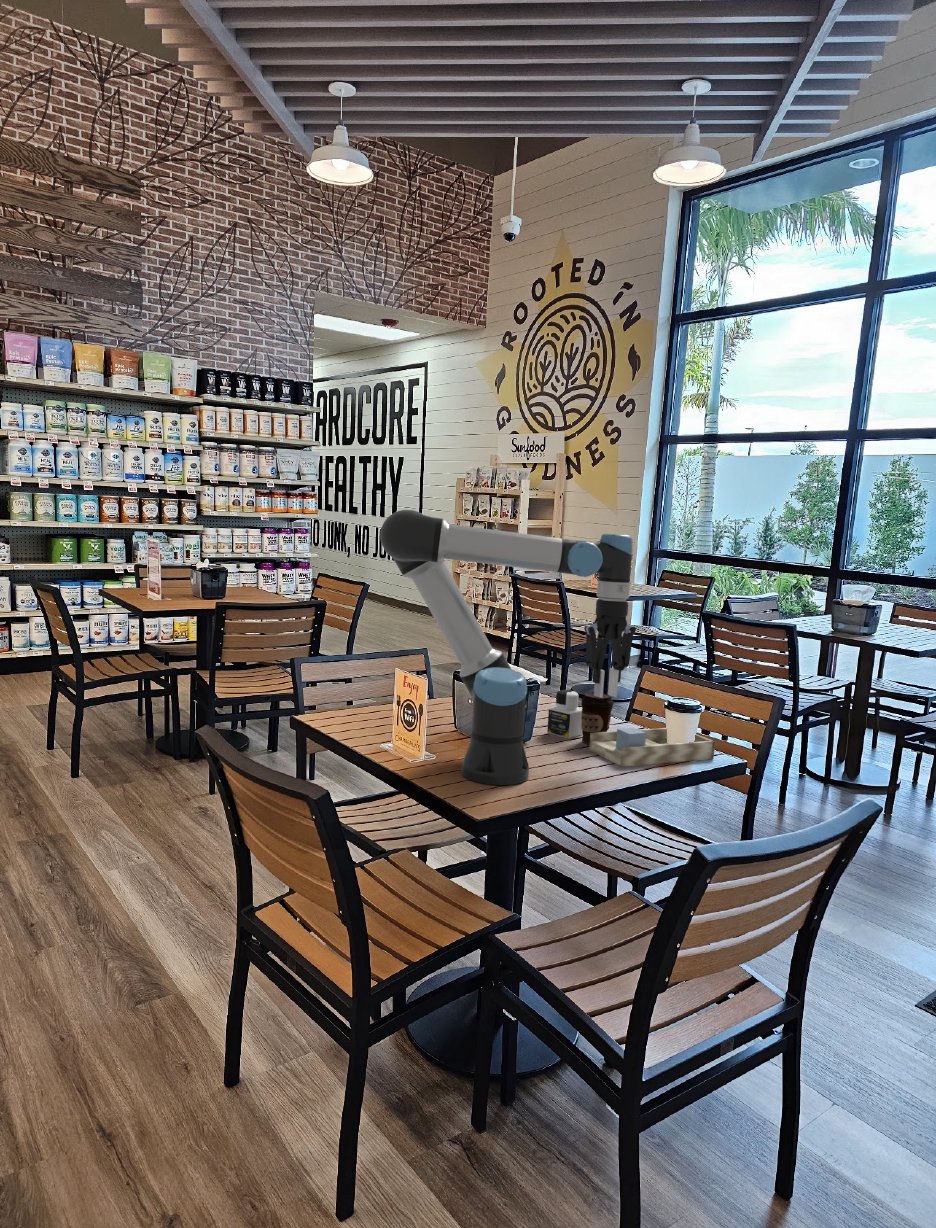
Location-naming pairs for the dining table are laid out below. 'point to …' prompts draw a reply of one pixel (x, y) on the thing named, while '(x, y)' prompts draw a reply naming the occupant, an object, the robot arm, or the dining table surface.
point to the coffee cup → (595, 715)
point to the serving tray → (651, 749)
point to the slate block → (630, 738)
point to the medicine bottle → (565, 715)
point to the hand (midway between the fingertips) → (605, 695)
